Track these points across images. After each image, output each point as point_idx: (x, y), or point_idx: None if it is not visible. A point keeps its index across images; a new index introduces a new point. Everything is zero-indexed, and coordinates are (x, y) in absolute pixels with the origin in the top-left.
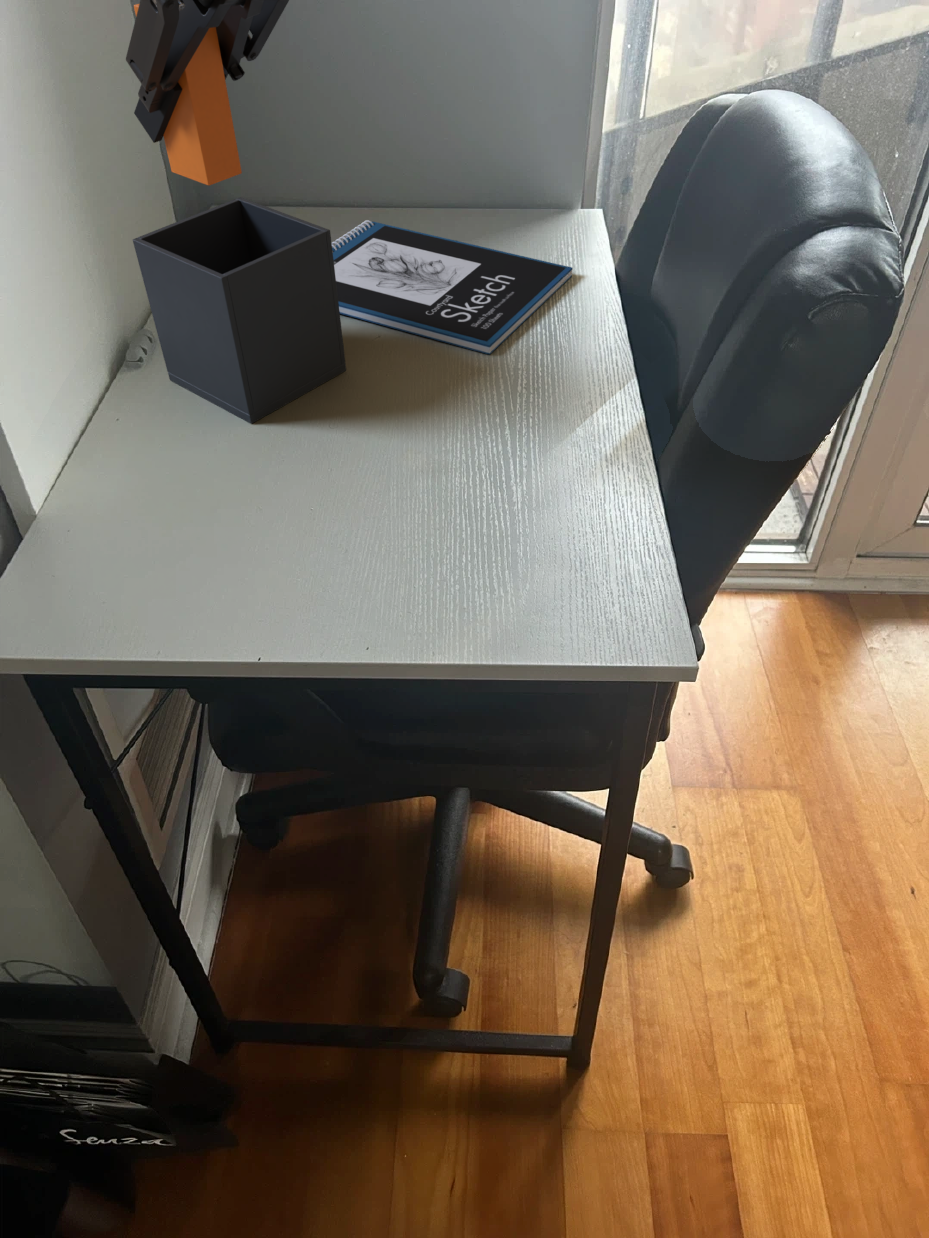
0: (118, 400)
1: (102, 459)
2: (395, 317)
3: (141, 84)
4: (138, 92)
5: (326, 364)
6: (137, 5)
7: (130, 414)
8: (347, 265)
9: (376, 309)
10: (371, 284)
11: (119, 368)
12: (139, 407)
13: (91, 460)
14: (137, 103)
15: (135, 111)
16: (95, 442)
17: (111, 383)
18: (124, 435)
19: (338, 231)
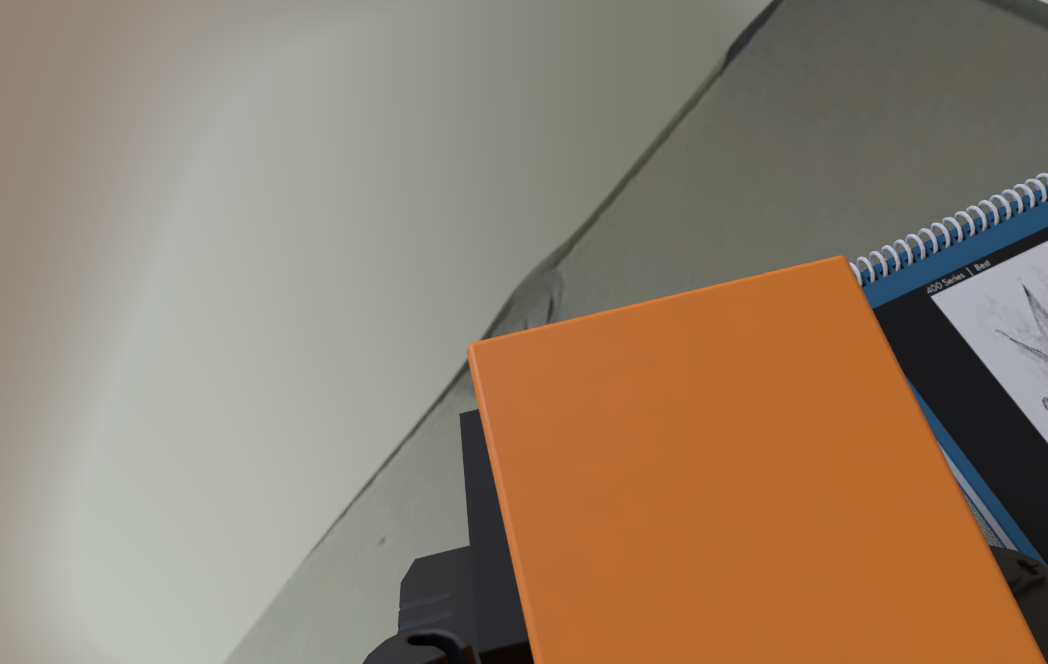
0: (412, 476)
1: (299, 657)
2: (1036, 556)
3: (398, 632)
4: (401, 586)
5: None
6: (486, 379)
7: (408, 537)
8: (1009, 288)
9: (1006, 496)
10: (1033, 390)
11: (462, 372)
12: (432, 524)
13: (282, 646)
14: (462, 441)
15: (462, 422)
16: (316, 590)
17: (428, 413)
18: (367, 602)
19: (1041, 124)
